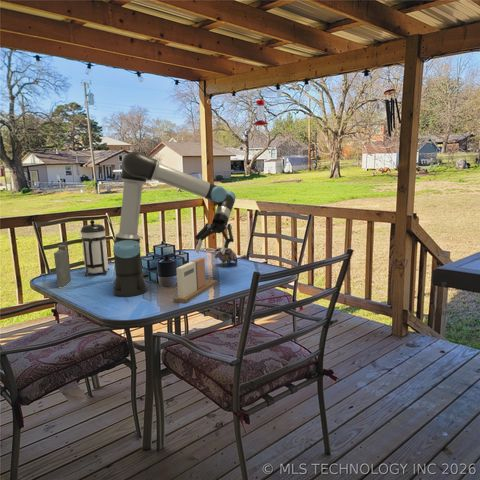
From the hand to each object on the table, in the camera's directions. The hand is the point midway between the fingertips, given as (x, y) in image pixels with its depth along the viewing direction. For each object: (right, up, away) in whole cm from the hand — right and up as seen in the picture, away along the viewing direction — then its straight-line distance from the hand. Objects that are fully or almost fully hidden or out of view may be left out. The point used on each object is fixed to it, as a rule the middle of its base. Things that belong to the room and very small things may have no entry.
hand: (209, 252), depth 188 cm
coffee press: (-64, -13, +29) cm, 72 cm away
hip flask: (-74, -17, +12) cm, 77 cm away
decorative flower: (+7, -9, +40) cm, 41 cm away
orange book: (-4, -16, -7) cm, 18 cm away
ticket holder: (-5, -18, -9) cm, 21 cm away
